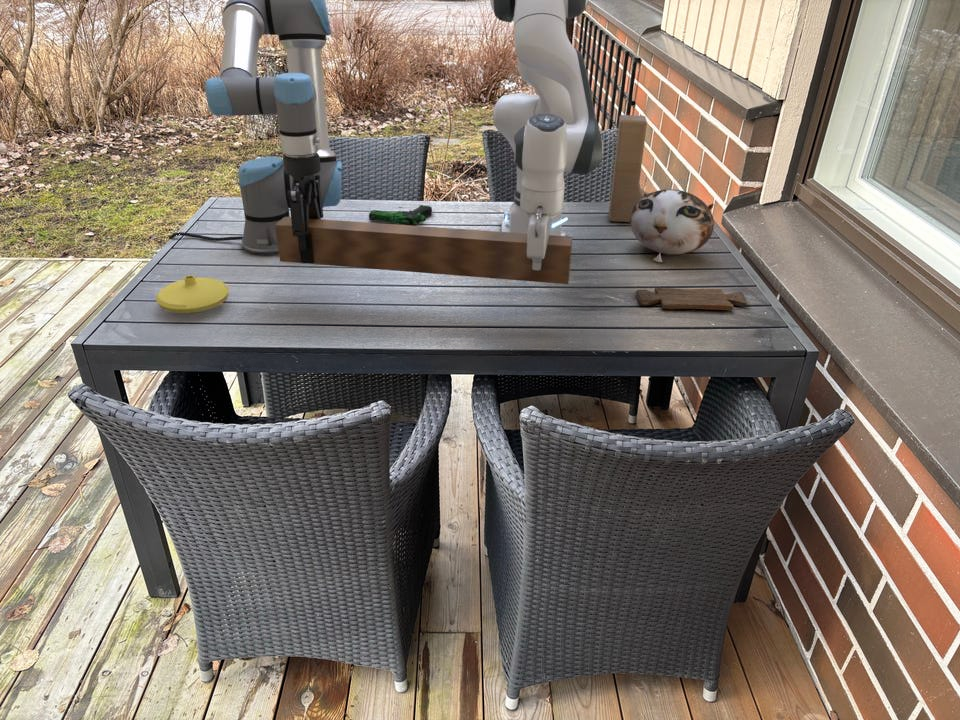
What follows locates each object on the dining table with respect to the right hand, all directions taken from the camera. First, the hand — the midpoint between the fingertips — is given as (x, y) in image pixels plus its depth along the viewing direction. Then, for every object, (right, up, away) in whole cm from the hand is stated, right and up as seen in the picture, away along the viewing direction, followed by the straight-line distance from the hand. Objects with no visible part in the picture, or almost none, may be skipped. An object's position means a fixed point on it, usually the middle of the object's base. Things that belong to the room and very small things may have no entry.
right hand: (538, 262), depth 152 cm
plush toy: (+39, +9, +44) cm, 59 cm away
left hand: (-50, +2, +9) cm, 51 cm away
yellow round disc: (-78, -8, +12) cm, 79 cm away
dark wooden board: (+38, -7, +18) cm, 42 cm away
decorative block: (+35, +22, +67) cm, 78 cm away
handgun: (-36, +22, +65) cm, 77 cm away
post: (-25, 0, +5) cm, 26 cm away
